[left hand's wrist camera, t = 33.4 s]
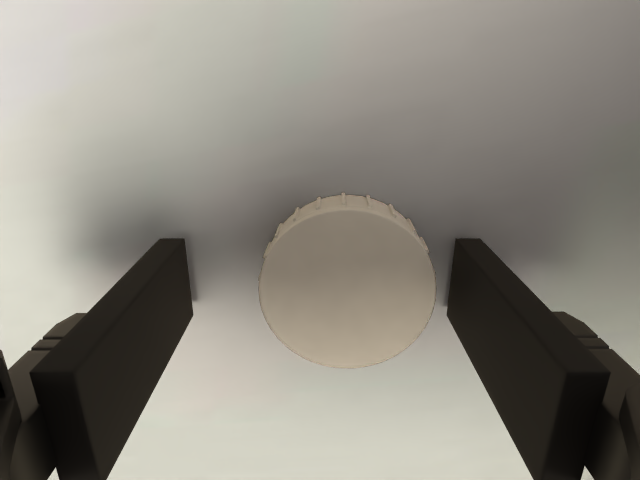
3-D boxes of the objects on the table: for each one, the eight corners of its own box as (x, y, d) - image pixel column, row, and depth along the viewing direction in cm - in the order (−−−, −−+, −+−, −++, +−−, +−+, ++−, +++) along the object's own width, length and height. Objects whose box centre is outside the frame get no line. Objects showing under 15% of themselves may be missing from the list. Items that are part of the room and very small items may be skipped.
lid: (326, 365, 16) (325, 397, 14) (232, 251, 14) (219, 273, 13) (457, 290, 15) (472, 316, 13) (368, 157, 13) (372, 168, 12)
